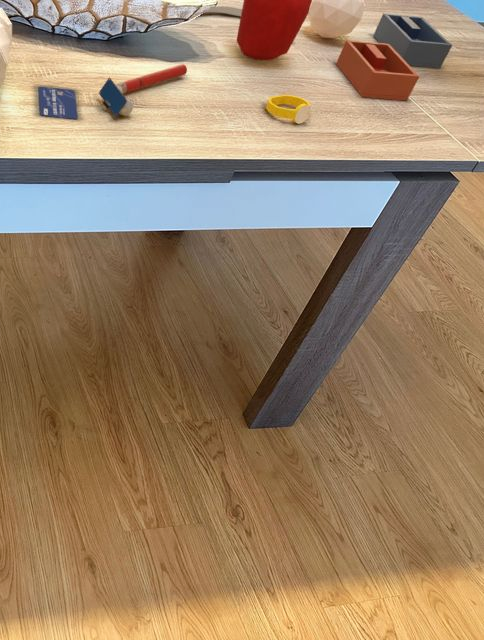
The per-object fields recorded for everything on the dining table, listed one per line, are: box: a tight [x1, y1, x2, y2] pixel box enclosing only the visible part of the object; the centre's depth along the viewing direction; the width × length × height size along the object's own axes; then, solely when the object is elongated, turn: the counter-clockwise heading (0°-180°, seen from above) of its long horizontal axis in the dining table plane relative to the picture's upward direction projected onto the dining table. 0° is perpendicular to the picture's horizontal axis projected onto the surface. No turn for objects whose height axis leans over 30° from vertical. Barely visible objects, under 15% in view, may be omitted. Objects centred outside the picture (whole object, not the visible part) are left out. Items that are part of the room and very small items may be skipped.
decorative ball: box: [307, 0, 366, 39], centre depth 131 cm, size 9×10×12 cm
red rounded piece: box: [236, 0, 313, 61], centre depth 120 cm, size 11×10×14 cm
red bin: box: [335, 39, 420, 101], centre depth 121 cm, size 12×8×4 cm, turn 4°
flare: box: [114, 63, 188, 95], centre depth 111 cm, size 2×15×2 cm
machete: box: [202, 6, 242, 17], centre depth 134 cm, size 26×2×5 cm
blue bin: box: [372, 13, 453, 69], centre depth 132 cm, size 12×8×4 cm, turn 4°
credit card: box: [37, 86, 79, 120], centre depth 105 cm, size 8×5×1 cm, turn 0°
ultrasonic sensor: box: [98, 76, 134, 118], centre depth 105 cm, size 6×2×3 cm, turn 21°
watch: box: [265, 93, 311, 125], centre depth 110 cm, size 6×3×6 cm
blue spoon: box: [397, 16, 421, 41], centre depth 132 cm, size 9×4×4 cm, turn 4°
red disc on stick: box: [361, 44, 387, 72], centre depth 121 cm, size 9×4×4 cm, turn 3°
